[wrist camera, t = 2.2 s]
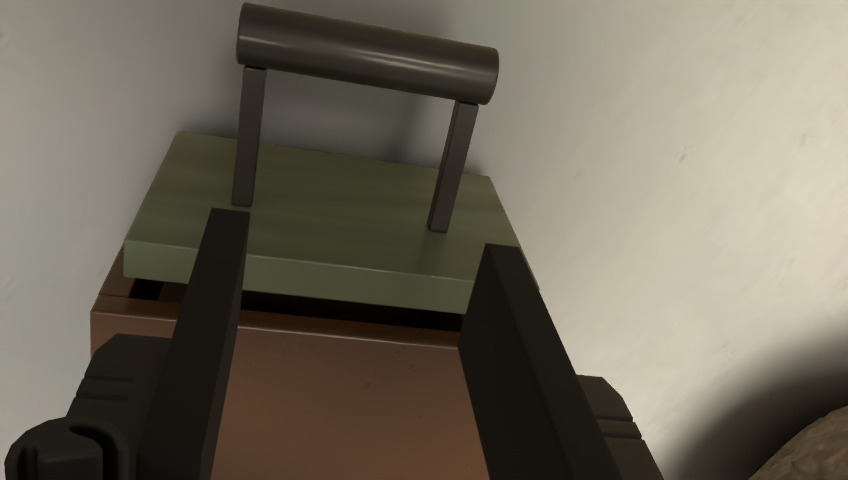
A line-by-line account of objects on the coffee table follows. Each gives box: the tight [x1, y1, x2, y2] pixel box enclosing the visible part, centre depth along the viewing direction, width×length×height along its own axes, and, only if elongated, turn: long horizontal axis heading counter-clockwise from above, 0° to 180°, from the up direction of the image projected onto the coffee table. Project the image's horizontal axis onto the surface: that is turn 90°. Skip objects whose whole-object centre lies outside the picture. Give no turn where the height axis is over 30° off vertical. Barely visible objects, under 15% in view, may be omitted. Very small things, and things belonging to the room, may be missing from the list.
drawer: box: [124, 3, 539, 332], centre depth 25 cm, size 19×11×8 cm, turn 168°
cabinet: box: [90, 243, 490, 480], centre depth 28 cm, size 15×13×10 cm
